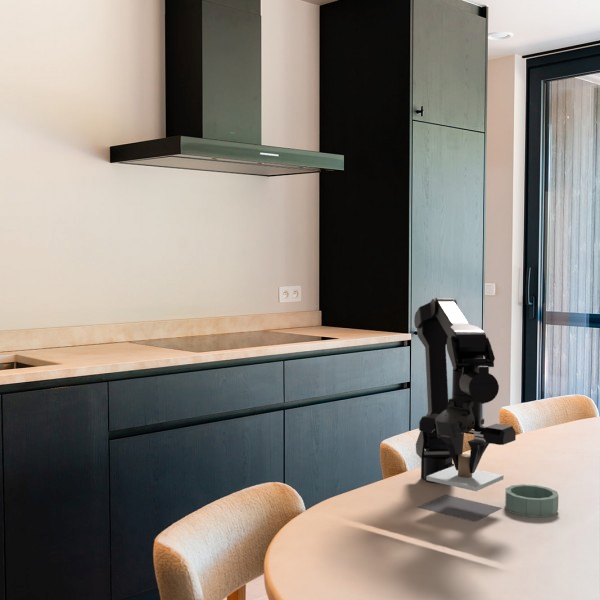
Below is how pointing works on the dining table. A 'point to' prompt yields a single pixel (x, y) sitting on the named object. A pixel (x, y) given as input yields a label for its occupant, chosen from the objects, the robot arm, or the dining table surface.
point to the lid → (464, 476)
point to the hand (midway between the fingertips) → (465, 471)
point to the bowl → (531, 500)
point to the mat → (460, 508)
